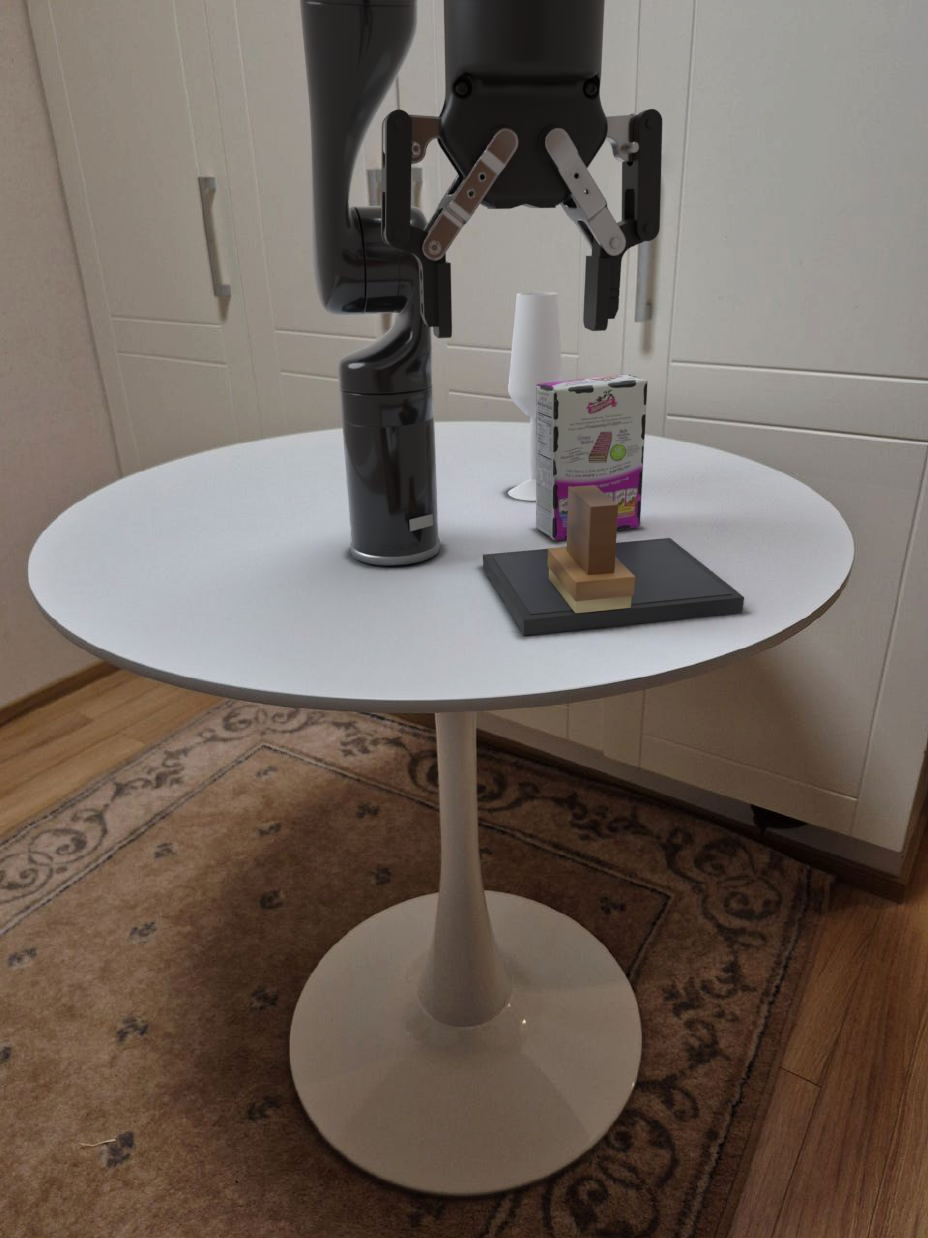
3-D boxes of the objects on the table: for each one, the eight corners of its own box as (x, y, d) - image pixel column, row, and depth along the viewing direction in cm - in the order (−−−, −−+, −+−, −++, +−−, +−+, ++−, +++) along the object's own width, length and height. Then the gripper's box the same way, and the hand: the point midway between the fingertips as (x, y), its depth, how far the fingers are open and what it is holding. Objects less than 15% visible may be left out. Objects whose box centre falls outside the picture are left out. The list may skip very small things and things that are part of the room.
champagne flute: (504, 486, 113) (504, 292, 103) (554, 484, 113) (559, 290, 103) (512, 501, 107) (512, 296, 97) (565, 499, 107) (571, 294, 97)
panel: (482, 568, 87) (482, 553, 86) (668, 551, 90) (670, 536, 89) (523, 635, 72) (523, 619, 72) (742, 612, 76) (744, 596, 75)
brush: (546, 578, 80) (548, 484, 76) (600, 573, 81) (604, 479, 77) (574, 614, 72) (578, 512, 69) (633, 608, 73) (640, 507, 69)
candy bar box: (617, 515, 101) (626, 372, 94) (641, 528, 97) (651, 379, 90) (532, 529, 97) (534, 380, 90) (552, 542, 93) (556, 388, 86)
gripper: (641, -14, 44) (620, 319, 51) (362, -21, 42) (381, 329, 49) (704, -52, 37) (670, 337, 44) (377, -62, 35) (397, 349, 42)
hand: (519, 332), depth 47 cm, fingers open, 8 cm apart
